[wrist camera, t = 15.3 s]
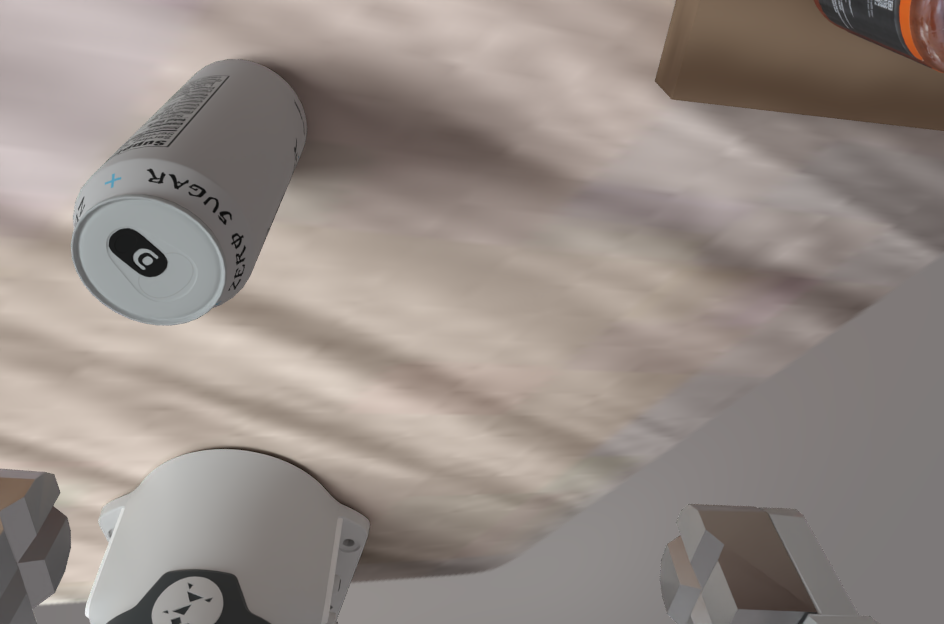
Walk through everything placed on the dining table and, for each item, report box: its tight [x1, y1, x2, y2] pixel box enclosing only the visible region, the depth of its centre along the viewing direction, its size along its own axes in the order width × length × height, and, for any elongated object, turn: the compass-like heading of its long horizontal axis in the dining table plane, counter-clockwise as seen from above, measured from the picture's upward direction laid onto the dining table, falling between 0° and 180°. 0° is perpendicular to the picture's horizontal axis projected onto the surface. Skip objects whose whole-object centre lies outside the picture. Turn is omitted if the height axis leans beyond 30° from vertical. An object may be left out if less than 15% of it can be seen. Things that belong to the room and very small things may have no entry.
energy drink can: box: [71, 59, 307, 325], centre depth 29 cm, size 6×6×15 cm
